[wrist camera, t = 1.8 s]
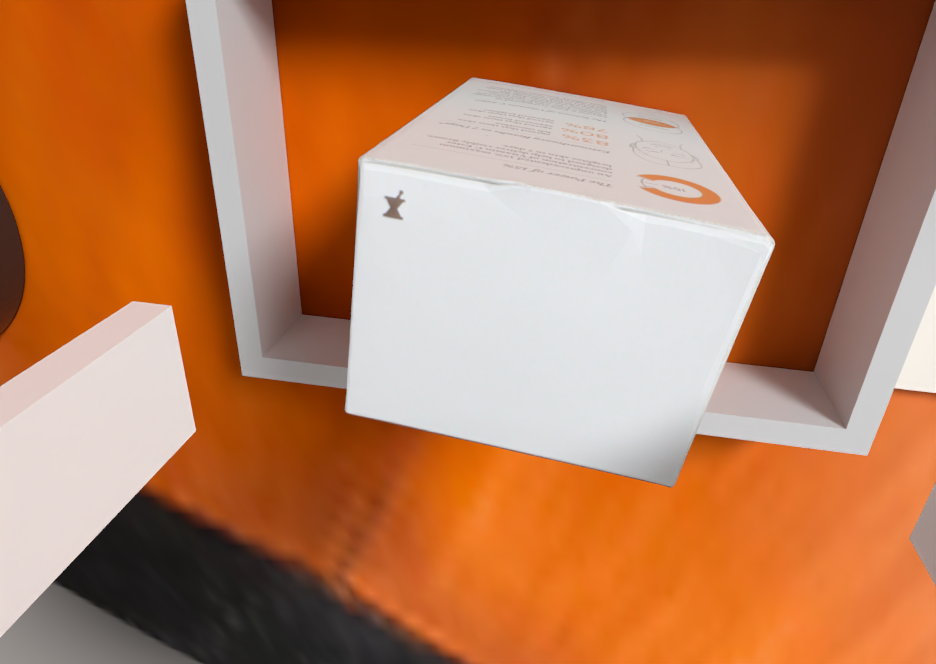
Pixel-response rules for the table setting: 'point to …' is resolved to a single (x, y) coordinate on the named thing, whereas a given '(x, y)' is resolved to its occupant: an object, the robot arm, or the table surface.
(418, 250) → the small box
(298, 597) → the table surface
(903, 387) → the tile
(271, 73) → the bin
